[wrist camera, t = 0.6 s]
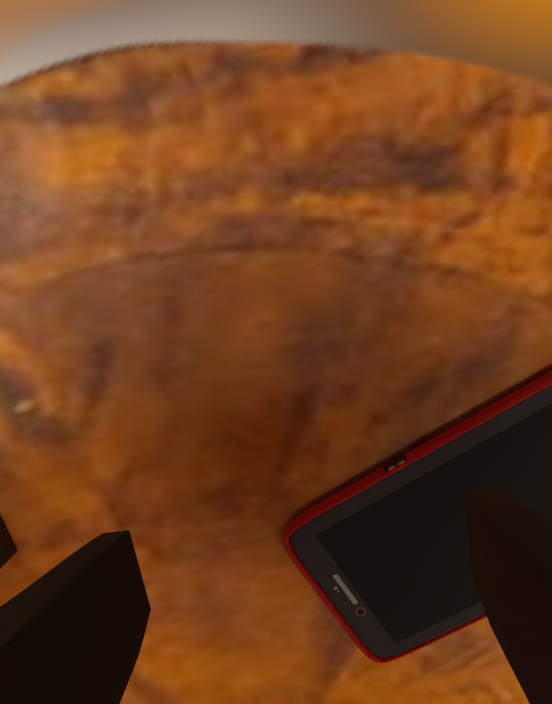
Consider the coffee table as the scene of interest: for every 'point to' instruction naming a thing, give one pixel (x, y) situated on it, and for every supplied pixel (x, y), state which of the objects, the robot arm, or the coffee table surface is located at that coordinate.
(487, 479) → the cell phone
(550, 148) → the coffee table surface
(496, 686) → the coffee table surface
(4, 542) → the scale
